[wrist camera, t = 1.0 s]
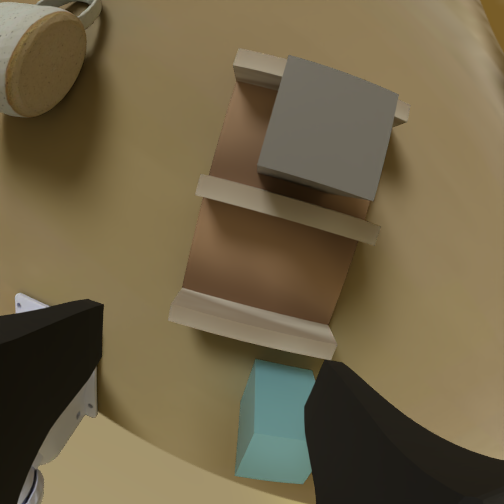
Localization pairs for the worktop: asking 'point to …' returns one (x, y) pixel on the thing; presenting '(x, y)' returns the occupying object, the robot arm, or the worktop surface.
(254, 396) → the teal plug
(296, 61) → the grey plug
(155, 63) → the worktop surface
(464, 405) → the worktop surface
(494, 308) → the worktop surface
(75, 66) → the ceramic mug
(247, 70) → the brown tray
